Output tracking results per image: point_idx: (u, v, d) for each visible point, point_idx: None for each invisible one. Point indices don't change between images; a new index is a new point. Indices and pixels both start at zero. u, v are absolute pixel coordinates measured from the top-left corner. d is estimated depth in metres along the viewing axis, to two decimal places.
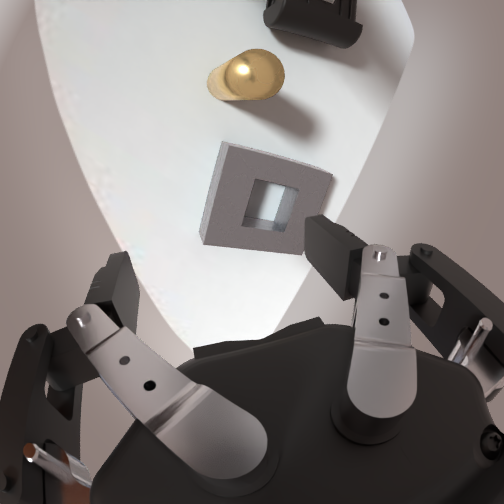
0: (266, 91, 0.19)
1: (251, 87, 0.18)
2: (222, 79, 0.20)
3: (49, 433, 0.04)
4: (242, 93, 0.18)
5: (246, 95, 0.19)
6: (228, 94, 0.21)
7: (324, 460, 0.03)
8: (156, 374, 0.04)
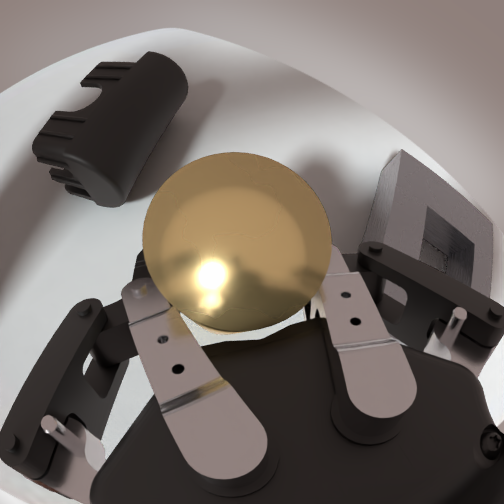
0: (304, 217, 0.06)
1: (287, 264, 0.06)
2: None
3: (76, 408, 0.05)
4: (305, 299, 0.06)
5: (314, 287, 0.06)
6: None
7: (324, 460, 0.03)
8: (188, 359, 0.05)
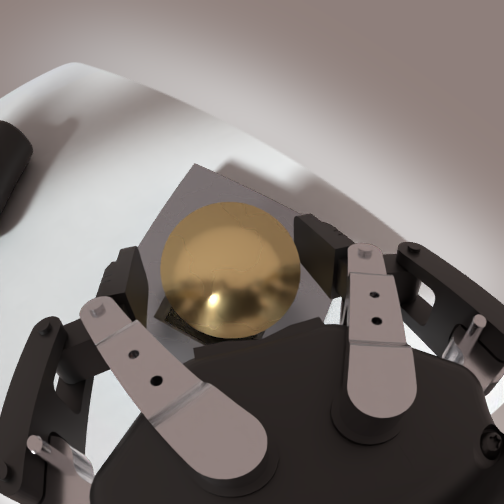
0: (280, 255, 0.09)
1: (265, 291, 0.08)
2: None
3: (55, 426, 0.04)
4: (278, 316, 0.08)
5: (285, 307, 0.08)
6: None
7: (324, 460, 0.03)
8: (164, 369, 0.05)
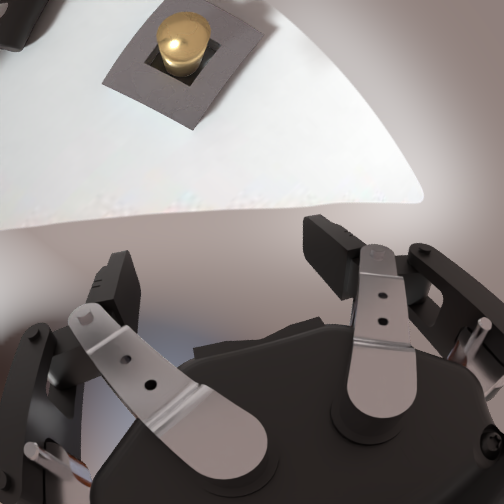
0: (203, 30, 0.16)
1: (195, 41, 0.17)
2: (178, 63, 0.19)
3: (50, 432, 0.04)
4: (198, 49, 0.17)
5: (201, 47, 0.17)
6: (194, 61, 0.20)
7: (324, 460, 0.03)
8: (157, 373, 0.04)
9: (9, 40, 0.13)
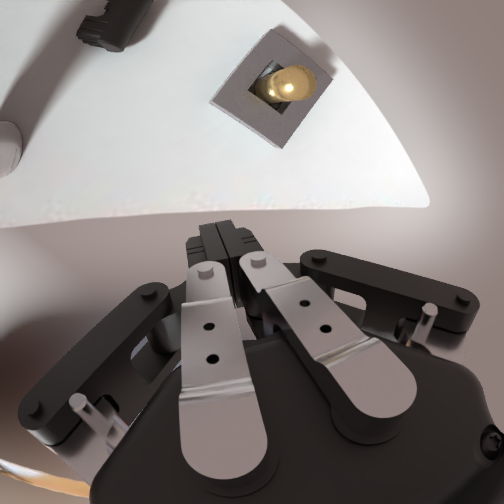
0: (311, 82, 0.27)
1: (306, 90, 0.27)
2: (286, 100, 0.30)
3: (113, 390, 0.05)
4: (308, 97, 0.27)
5: (310, 95, 0.27)
6: None
7: (324, 460, 0.03)
8: (225, 352, 0.05)
9: (117, 40, 0.22)
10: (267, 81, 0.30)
